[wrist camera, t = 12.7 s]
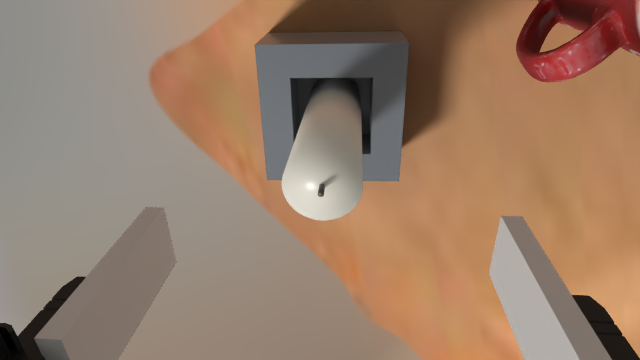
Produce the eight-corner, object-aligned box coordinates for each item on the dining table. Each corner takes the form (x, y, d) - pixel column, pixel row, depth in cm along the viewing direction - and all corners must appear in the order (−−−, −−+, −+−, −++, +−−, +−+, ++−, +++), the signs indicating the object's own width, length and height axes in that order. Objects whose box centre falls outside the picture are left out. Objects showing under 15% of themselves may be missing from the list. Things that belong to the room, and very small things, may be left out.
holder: (268, 32, 32) (254, 44, 28) (401, 30, 31) (409, 42, 27) (277, 153, 37) (267, 179, 32) (393, 153, 36) (399, 181, 32)
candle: (309, 75, 32) (276, 155, 19) (361, 75, 32) (363, 156, 19) (311, 125, 34) (282, 228, 21) (360, 125, 34) (362, 230, 21)
